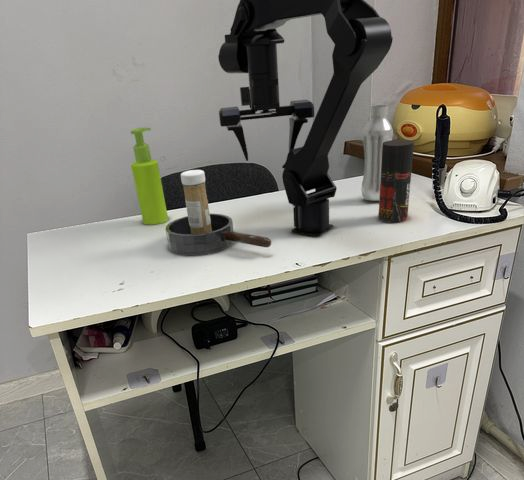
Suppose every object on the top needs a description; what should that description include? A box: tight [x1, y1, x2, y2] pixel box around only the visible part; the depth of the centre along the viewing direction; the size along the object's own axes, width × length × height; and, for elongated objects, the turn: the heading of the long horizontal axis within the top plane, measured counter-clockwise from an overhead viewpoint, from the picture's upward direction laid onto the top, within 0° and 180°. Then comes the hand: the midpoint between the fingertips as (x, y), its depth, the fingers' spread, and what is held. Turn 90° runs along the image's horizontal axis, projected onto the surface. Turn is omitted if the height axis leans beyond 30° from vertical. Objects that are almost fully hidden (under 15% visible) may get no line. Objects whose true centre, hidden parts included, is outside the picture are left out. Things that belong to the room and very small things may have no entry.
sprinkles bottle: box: [180, 169, 212, 235], centre depth 96 cm, size 5×5×14 cm
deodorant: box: [377, 139, 415, 224], centre depth 99 cm, size 6×6×15 cm
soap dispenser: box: [130, 126, 169, 226], centre depth 110 cm, size 6×7×20 cm
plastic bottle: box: [360, 104, 394, 202], centre depth 110 cm, size 6×7×20 cm
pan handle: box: [221, 229, 272, 248], centre depth 92 cm, size 11×2×2 cm, turn 54°
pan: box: [165, 213, 235, 256], centre depth 98 cm, size 13×13×4 cm
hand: (268, 158), depth 102 cm, fingers open, 9 cm apart
